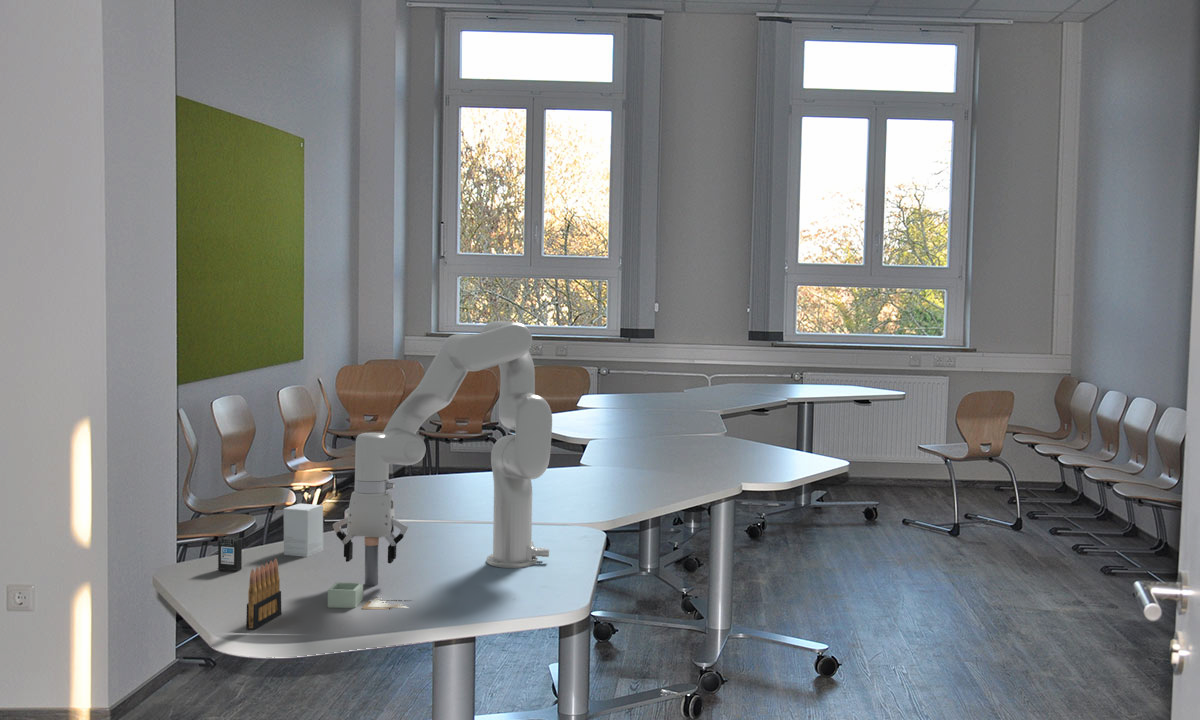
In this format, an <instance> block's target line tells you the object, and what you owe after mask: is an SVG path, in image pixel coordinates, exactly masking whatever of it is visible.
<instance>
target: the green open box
mask: <svg viewBox="0 0 1200 720" xmlns="http://www.w3.org/2000/svg"><path fill="white" fill-rule="evenodd" d="M363 599H364V582H339V581H337V582H336V581H335V582H334V584H332V585H331V586H330V587H329V588H327V608H328V609H329V608H331V609H332V608H334V609H335V608H340V609H342V608H344V609H345V608H347V609H349V608H351V609H354V608H357V607H358V606H359V604H360V603H361V602H362V601H363Z"/></svg>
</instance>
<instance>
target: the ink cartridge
mask: <svg viewBox="0 0 1200 720" xmlns="http://www.w3.org/2000/svg"><path fill="white" fill-rule="evenodd" d="M217 541H218V542H217V555H218V557H217V559H218V560H217V562H218V564H217V565H218V566H217V567H218V568H217V569H218V570H217V571H219V572H220V571H221V572H226V573H227V572H228V573H229V572H230V573H236V572H238V571H240V570H242V569H243V566H242V564H243V562H242V559H243V556H242V554H243V553H242V550H243V549H242V548H243V546H242V545H243V544H242V538H240V537H237V536H234V537H231V536H225V537H221V538H219V539H218V540H217Z"/></svg>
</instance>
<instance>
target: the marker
mask: <svg viewBox="0 0 1200 720" xmlns="http://www.w3.org/2000/svg"><path fill="white" fill-rule="evenodd" d="M379 545H380V538H376V537H364V586H365V587H375V585H376V586H378V585H379Z"/></svg>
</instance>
